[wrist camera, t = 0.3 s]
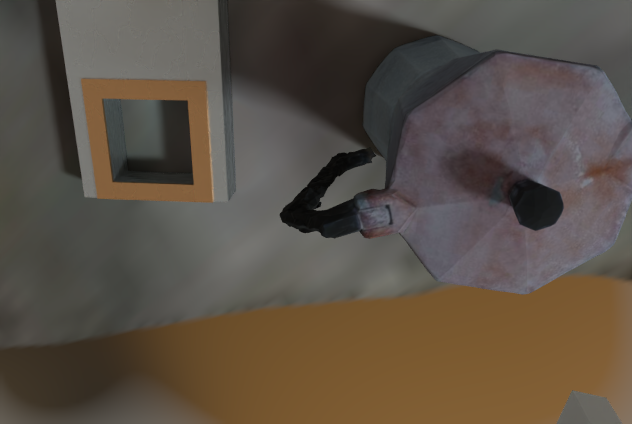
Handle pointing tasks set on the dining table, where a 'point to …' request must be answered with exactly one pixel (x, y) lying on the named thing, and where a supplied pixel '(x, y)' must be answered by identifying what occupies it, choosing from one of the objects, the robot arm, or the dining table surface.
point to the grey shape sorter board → (149, 91)
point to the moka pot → (485, 165)
